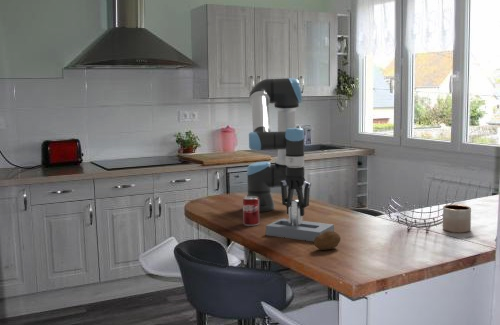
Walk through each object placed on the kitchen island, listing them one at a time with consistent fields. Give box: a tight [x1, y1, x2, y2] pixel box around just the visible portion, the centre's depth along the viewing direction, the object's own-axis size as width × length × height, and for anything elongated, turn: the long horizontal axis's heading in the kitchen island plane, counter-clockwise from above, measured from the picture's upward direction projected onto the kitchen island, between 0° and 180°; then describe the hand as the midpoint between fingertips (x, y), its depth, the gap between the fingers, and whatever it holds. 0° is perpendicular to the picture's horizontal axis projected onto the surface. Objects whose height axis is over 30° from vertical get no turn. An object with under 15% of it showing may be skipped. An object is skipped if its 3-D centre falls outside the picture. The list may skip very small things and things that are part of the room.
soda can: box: [242, 196, 261, 227], centre depth 242 cm, size 7×7×12 cm
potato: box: [313, 230, 341, 251], centre depth 202 cm, size 7×12×7 cm, turn 127°
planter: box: [442, 204, 472, 234], centre depth 225 cm, size 11×11×10 cm
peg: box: [291, 199, 300, 227], centre depth 223 cm, size 4×4×13 cm
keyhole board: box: [265, 218, 335, 243], centre depth 223 cm, size 24×14×4 cm, turn 58°
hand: (295, 222), depth 223 cm, fingers closed on peg, 3 cm apart
